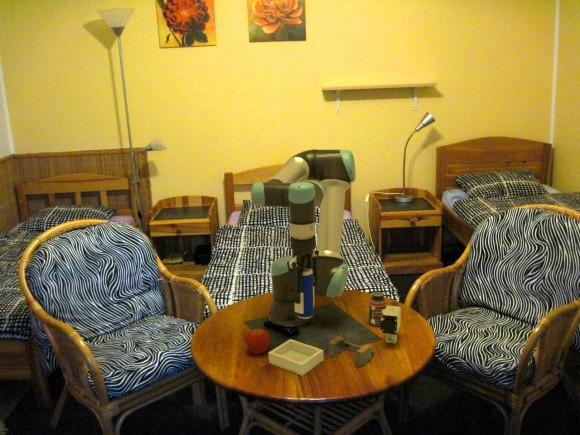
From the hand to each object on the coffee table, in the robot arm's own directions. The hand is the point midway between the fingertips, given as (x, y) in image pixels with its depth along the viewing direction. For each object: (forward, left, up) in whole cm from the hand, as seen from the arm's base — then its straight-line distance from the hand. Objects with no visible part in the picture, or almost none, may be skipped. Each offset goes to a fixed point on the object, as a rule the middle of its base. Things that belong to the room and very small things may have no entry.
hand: (304, 308), depth 166 cm
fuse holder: (+10, +10, -18) cm, 22 cm away
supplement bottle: (+5, +36, -18) cm, 40 cm away
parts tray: (-2, -2, -18) cm, 18 cm away
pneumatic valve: (+15, +27, -18) cm, 35 cm away
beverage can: (0, 0, -2) cm, 2 cm away
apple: (-16, -4, -18) cm, 24 cm away
